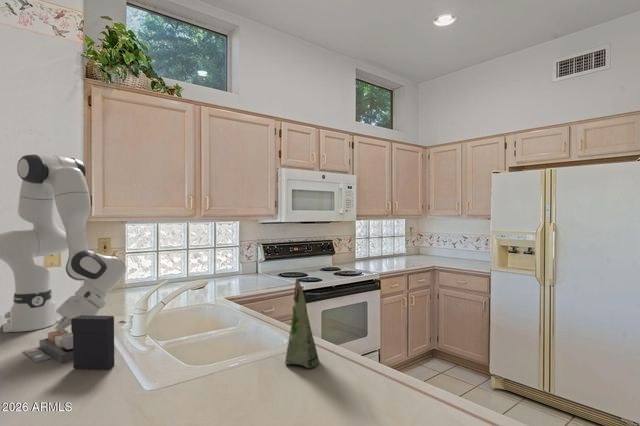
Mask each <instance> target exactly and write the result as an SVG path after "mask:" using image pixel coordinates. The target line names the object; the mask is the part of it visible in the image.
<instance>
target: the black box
mask: <svg viewBox="0 0 640 426" xmlns="http://www.w3.org/2000/svg"><path fill="white" fill-rule="evenodd" d="M70 326H71V327H70V328H71V329H70V332H72V333H73V360H72V362H73V369H75V370H99V371H100V370H101V371H108V370H109V369H112V368H113V367H115V316H114V315H80V316H78V317H75V318H72V319H71V325H70Z"/></svg>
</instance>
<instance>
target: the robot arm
mask: <svg viewBox="0 0 640 426" xmlns="http://www.w3.org/2000/svg"><path fill="white" fill-rule="evenodd" d="M16 165H17V166H16V169H17V171H16V172H17V175H18V176H19V178H20V179H22V182H21V186H20V191H19V198H18V207H17V213H18V215H19V217H20V218H21V219H23V220H24V221H25V222H28V223H31V224H32V226H33V228H32V229H28V230H27V229H26V230H11V231H6V232H5V231H4V232H0V260H1V261H3V262H5V263H6V264H7V265H8V266H9V268H10V269H11V271H12V273H13V277H14V287H15V289H14V292H15V293H14V294H13V297H12V298H13V300H12V301H13V303H12V306H11V307H10V310H9V311H7V312H4V318H5V319H7V320H5V321H3V322H2V333H12V332H14V333H15V332H16V333H18V332H30V331H36V330H41V329H44V328H48V327H50V326H53V325H55V324H56V323H57V324H56V326H55V327H54V329H55V331H59V332H62V331H63V330H66V328H69V326H71V319H72V318H75V317H78V316H80V315H94V316H96V315H97V313H98V312H99V310H100V309H103V308H104V307H105V305H106V302H105V298H106V297H107V295H108V294H109V292H110V291H111V290H113V289H114V288H115V287H116V286H117V285H118V283H120V281H121V280H122V279H123V277H125V274H126V272H127V267H126V265H125V263H124V262H123V261H122V260H121V259H120V258H119V257H118V256H113V255H112V256H111V255H110V256H109V255H104V254H101V253H98V252H97V253H96V252H94V251H92V250H89V246H88V239H87V233H86V232H87V231H86V229H87V228H86V226H87V222H88V219H89V216H90V214H91V207H92V206H91V204H92V203H91V196H90V190H89V186H88V184H87V180H86V174H87V171H86V167H85V164H84V163H83V161H81V160H80V159H77V158H74V157H65V156H60V155H38V154H25V155H23V156H22V157H21V158H20V159H19V160H18V161H17V164H16ZM54 206H55V207H56V209H57V213H58V215H59V217H60V220H61V223H62V224H63V227H64V230H65V231H63V230H62V229H61V228H60V227H59V226H58V224H57V223H56V220H55V217H54V210H55V209H54V208H55V207H54ZM67 249H68V259H67V261H66V265H65V272H66V274H67V276H68V277H69V278H71V279H72V280H74V281H85V282H84V283H83V284H82V285H80V287H79V288H78V289H77V290H76V291H75V292H74V295H70V296H69V297H68V298H67V299H66V300H65V301H64V302H62V304H60V306H59V307H58V308H57V304H56V303H57V302H56V301H54V300H52V294H53V293H52V289H51V276H50V275H51V273H50V271H49V269H48V268H46V267H44V266H41V265H38V264H36V263H35V261H34V258H37V257H47V256H48V257H49V256H55V255H59V254H61V253H64V252H66V251H67ZM57 314H58V315H60V316H62V317H58V316H57Z"/></svg>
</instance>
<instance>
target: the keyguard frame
mask: <svg viewBox="0 0 640 426" xmlns="http://www.w3.org/2000/svg"><path fill="white" fill-rule="evenodd" d="M39 349H40V350H42V351H44V353H46V354H47V355H48V354H49V355H50V357H53V358H54V359H55V360H57V361H58V362H59V363H61V364H64V363H68V362H70V361H73V348H72V349H66V348H64V347H59V348H58V347H57V346H55V342H53V343H51V342H49V341H48V337H46V338H42V339H39Z"/></svg>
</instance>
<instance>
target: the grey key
mask: <svg viewBox="0 0 640 426" xmlns="http://www.w3.org/2000/svg"><path fill="white" fill-rule="evenodd" d="M62 346H63V347H64V348H66V349H72V348H73V333H72V331H70V332H68V333H66V334H62Z"/></svg>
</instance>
